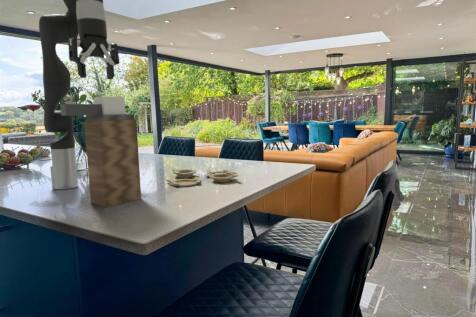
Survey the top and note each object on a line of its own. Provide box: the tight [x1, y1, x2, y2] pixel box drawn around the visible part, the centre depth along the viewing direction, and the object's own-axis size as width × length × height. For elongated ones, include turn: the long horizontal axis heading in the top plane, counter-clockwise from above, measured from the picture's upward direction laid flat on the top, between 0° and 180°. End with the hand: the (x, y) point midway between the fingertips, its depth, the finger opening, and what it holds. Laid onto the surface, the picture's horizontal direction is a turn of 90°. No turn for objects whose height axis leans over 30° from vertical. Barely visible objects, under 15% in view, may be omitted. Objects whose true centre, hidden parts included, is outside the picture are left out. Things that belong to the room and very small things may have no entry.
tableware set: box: [165, 168, 238, 188], centre depth 158 cm, size 35×29×4 cm
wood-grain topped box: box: [83, 113, 142, 208], centre depth 119 cm, size 14×10×31 cm
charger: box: [59, 96, 126, 116], centre depth 112 cm, size 20×6×6 cm, turn 142°
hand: (97, 78), depth 97 cm, fingers open, 8 cm apart
